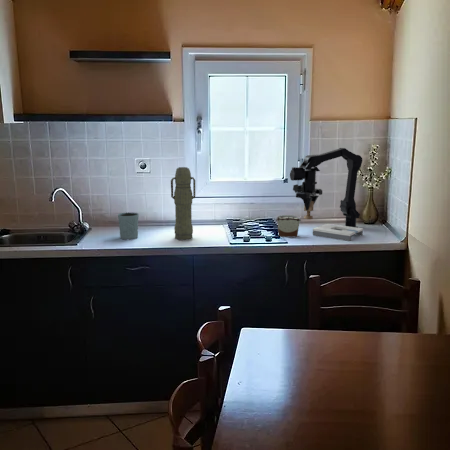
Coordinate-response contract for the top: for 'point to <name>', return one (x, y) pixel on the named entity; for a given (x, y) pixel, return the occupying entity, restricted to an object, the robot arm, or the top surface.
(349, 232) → the keyhole plate
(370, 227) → the top surface
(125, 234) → the green plant pot
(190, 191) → the thermos
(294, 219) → the food container
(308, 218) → the T-peg
